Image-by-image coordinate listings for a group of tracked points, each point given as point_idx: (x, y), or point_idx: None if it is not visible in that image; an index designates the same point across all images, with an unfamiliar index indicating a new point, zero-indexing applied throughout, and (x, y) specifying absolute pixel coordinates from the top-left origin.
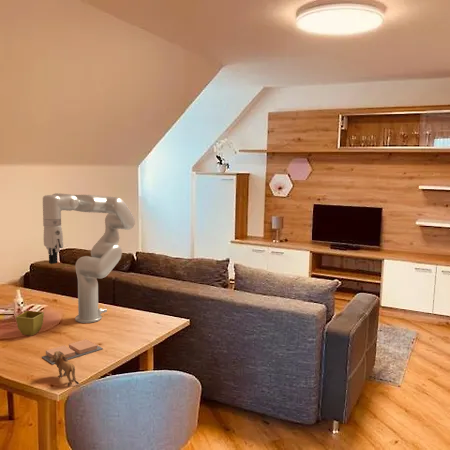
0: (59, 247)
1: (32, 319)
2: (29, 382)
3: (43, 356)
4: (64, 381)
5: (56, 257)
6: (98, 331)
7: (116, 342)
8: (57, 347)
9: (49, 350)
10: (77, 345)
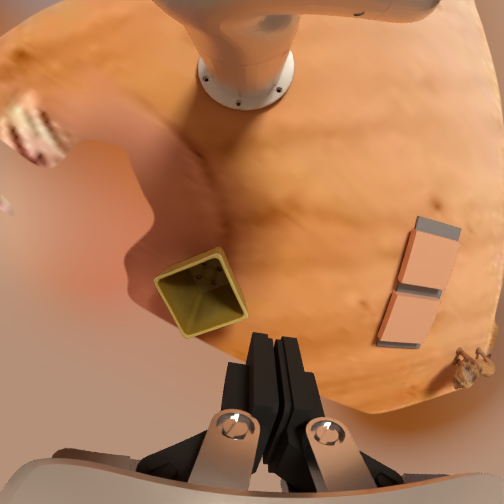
0: (399, 495)
1: (246, 316)
2: (423, 398)
3: (379, 343)
4: None
5: (302, 387)
6: (369, 133)
7: (459, 173)
8: (392, 313)
9: (388, 335)
10: (425, 275)
